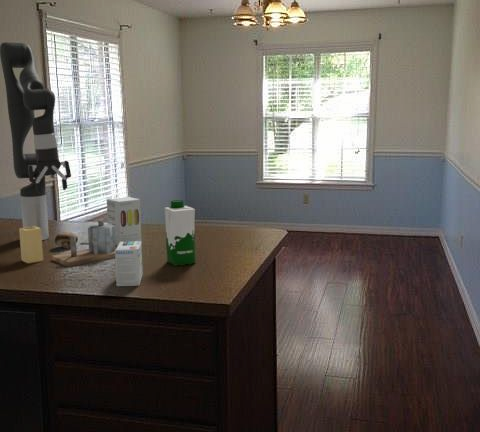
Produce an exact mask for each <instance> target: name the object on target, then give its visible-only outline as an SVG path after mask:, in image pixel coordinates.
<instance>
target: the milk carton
mask: <svg viewBox="0 0 480 432" xmlns="http://www.w3.org/2000/svg"><path fill="white" fill-rule="evenodd" d="M195 215H196V209H195V208H193V207H191V206H188V205H184V200H181V199H178V200H177V199H176V200H171V201H170V206H168V207H166V206H165V207H164V217H165V239H166V241H165V242H166V243H165V244H166V258H167V260H166V261H167V262H168V263H169V262H170V263H169V264H171V263H172V264H171V265H173V266H174V265H175V266H174V267H178V266H177V265H181V266H186V265H185V264H188V265H193V264H192V263H195V264H196V242H195V241H196V238H195V237H196V235H195V231H196V230H195V228H196V227H195Z"/></svg>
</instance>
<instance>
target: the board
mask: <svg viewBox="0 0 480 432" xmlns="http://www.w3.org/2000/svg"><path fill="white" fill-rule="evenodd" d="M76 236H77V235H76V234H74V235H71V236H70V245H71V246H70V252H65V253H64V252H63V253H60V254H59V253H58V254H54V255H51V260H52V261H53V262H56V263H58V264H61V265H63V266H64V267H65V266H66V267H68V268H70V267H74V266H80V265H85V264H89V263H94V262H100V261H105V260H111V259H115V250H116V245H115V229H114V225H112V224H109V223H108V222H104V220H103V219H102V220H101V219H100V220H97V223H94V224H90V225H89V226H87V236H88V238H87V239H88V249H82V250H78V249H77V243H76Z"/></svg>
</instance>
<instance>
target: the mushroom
mask: <svg viewBox="0 0 480 432" xmlns="http://www.w3.org/2000/svg"><path fill="white" fill-rule="evenodd" d="M71 235H75V234H74V233H72V232H68V231H67V232H60V233H58V234H57V235H56V236H55V237H54V243H55V245H56V246H58V247H62V248H64V249H71V245H70V236H71ZM78 240H79V238H78V236H77V235H76V244H77V243H78Z"/></svg>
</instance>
